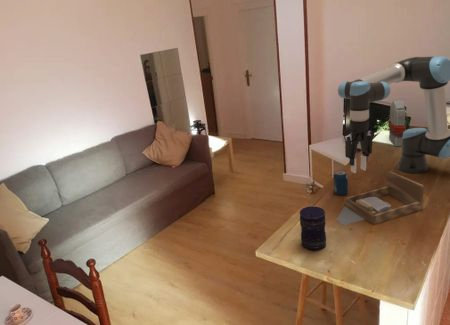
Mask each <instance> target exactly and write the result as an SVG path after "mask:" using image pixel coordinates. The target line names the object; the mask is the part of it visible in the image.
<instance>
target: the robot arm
mask: <svg viewBox="0 0 450 325" xmlns="http://www.w3.org/2000/svg"><path fill="white" fill-rule="evenodd" d="M449 81H450V58H449V57H447V56H439V55H435V56H414V57H409V58H405V59H403V60H400V61H397V62H394V63H392V64H390V65H389V66H388V67H387V68H384V69H381V70H379V71H377V72H373V73H372V74H369V75H366V76H364V77H361V78H357V79H355V80H353V81H349V80H347V81H342V82H341V83H340V84H339V85H338V88H337V93H338V96H339V97H340V98H342V99H345V100H346V99H347V100H348V99H349V104H350V105H349V119H350V120H349V129H350V131H349V133H348V135H344V136H343V139H344V140H345V141H344V142H345V143H344V145H345V146H344V150H345V151H344V152H345V153H344V154H345V158H346V159H347V158H348V160H349V166H350V172H352V173H353V174H357V158H356V153H357V149H358V144H360V149H361V153H362V154H360V170H363V171H365V172H366V170H367V163H368V158H369V157H370V156H371V155H370V154H372V153H373V138H374V134H375V133H374V131H372V130H369V127H370V120H369V118H370V103H374V102H379V101H382V100H385V99H387V98H388V97H390V95H391V86H390V85H391V84H392V83H393V84H396V83H401V82H416V83H417V82H418V84H419V88H420V89H421V90H423V96H424V104H425V106H424V107H425V114H426V124H427V128H425V127H414V128H409V129H405V131H404V132H403V138H402V139H403V140H402V146H401V156H400V158H399V161H398V163H397V169H398V170H399V171H402V172H404V173H409V174H410V173H411V174H419V173H421V174H422V173H425V172H427V171H428V168H429V164H428V162H427V158H426V156H432V157H436V158H442V159H448V158H450V128H448V127H449V126H448V125H449V124H448V116H447V115H448V113H447V101H446V88H445V87H446V86H447V85H448V83H449Z"/></svg>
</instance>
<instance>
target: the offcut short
mask: <svg viewBox="0 0 450 325" xmlns="http://www.w3.org/2000/svg"><path fill="white" fill-rule="evenodd" d="M356 204H358V205H359V206H361V207H363V208H364V209H366V210H368V211H369V212H371V211H373V206H372V205H371V204H369V203H367V202H365V201H364V200H362V199H360V200H356Z"/></svg>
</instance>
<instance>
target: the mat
mask: <svg viewBox="0 0 450 325" xmlns="http://www.w3.org/2000/svg"><path fill="white" fill-rule="evenodd" d="M364 220H365V221H366V219H364V218H363V217H361V216H360V215H358V214H357V213H355V212H354V211H352V210H351V209H349V208H348V207H346V206H345V205H344V206H343V208H342V210H341V212H340V214H339V215H338V216H337V218H336V222H338V223H340V225H341V226H347V225H348V226H349V225H350V224H354V223H358V222H362V221H364Z"/></svg>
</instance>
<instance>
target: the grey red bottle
mask: <svg viewBox="0 0 450 325" xmlns="http://www.w3.org/2000/svg"><path fill="white" fill-rule="evenodd" d="M405 110H406V109H405V104H404V101H403V100H402V99H399V100H398V99H397V100H396V99H395V100H392V101H391V103H390V109H389V119H388V129H389V130H388V132H389V133H388V134H389V135H388V138H389V141H390V142H391V143H392V145H394V147H402V140H403V139H402V138H403V132H404V131H405V130H406V126H405V122H406V121H405V120H406V111H405Z"/></svg>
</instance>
